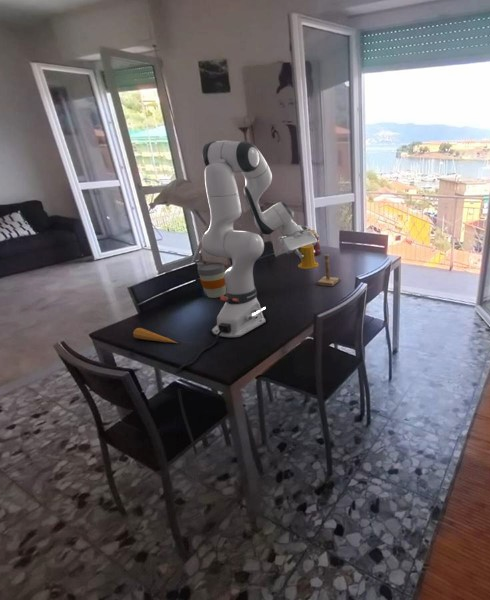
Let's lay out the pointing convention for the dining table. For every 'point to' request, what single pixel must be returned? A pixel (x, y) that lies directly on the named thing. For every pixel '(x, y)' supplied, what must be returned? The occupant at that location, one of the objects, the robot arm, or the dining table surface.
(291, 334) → the dining table surface
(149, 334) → the carrot
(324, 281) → the hat peg
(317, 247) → the kitchen canister
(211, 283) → the reusable coffee cup
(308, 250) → the hat
